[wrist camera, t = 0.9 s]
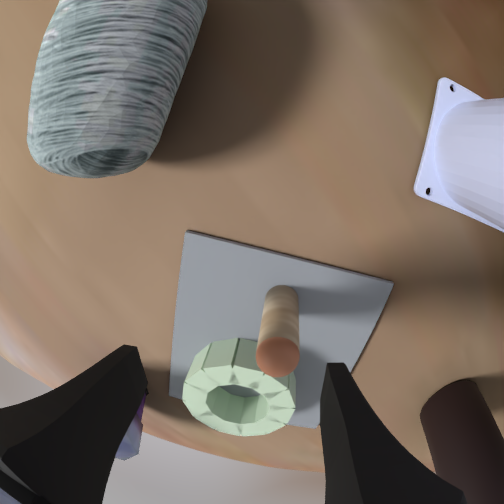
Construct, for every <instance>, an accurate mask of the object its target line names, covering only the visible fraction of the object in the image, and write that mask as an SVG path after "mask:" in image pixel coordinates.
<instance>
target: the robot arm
mask: <svg viewBox="0 0 504 504" xmlns="http://www.w3.org/2000/svg"><path fill="white" fill-rule="evenodd" d="M450 85H451V86H452V87H453V89H454V91H453V92H452V91H451V90H450ZM427 188H430V193H429V194H428V195H426V189H427ZM414 192H415V194H416V195H418V196H420V197H422V198H425V199H428V200H430V201H433V202H435V203H438V204H440V205H443V206H445V207H448V208H450V209H453V210H455V211H457V212H460V213H462V214H464V215H467V216H469V217H471V218H474V219H476V220H478V221H480V222H483V223H485V224H487V225H489V226H491V227H493V228H496V229H498V230H500V231H502V232H504V98H498V99H487V100H485V99H483V98H481V97H480V96H478V95H477V94H475V93H473V92H472V91H470V90H468V89H466V88H465V87H463V86H461V85H459V84H457V83H456V82H454V81H452V80H450V79H448V78H441V79H439V81H438V85H437V90H436V96H435V101H434V107H433V112H432V116H431V121H430V126H429V130H428V135H427V139H426V143H425V147H424V151H423V155H422V159H421V163H420V166H419V170H418V173H417V177H416V180H415V184H414ZM147 384H148V382H147V379H146V376H145V372H144V369H143V366H142V363H141V359H140V356H139V352H138V349H137V347H135V346H129V345H123V346H121V347H119V348H118V349H116V350H115V351H113V352H112V353H110V354H109V355H108V356H106V357H105V358H103V359H102V360H100V361H99V362H97V363H96V364H95V365H93V366H92V367H90V368H89V369H87V370H86V371H84V372H83V373H81V374H79V375H78V376H76V377H75V378H73V379H71V380H70V381H68V382H67V383H65V384H63V385H61V386H60V387H58V388H56V389H54V390H52V391H50V392H48V393H46V394H43V395H41V396H39V397H36V398H34V399H31V400H28V401H26V402H23V403H20V404H16V405H13V406H9V407H5V408H0V504H102V501H103V497H104V492H105V488H106V484H107V481H108V477H109V474H110V470H111V467H112V464H113V461H114V458H115V456H116V453H117V450H118V448H119V446H120V444H121V442H122V440H123V438H124V436H125V434H126V432H127V430H128V428H129V426H130V424H131V422H132V420H133V418H134V416H135V415H136V413H137V411H138V409H139V407H140V405H141V402H142V399H143V396H144V394H145V391H146V387H147ZM320 427H321V436H322V445H323V454H324V464H325V476H326V492H325V494H326V495H325V504H468V503H467V500H466V497H465V495H464V492H463V491H462V490H460V489H458V488H457V487H455V486H453V485H452V484H450V483H448V482H447V481H445V480H443V479H442V478H440V477H439V476H437V475H436V474H435V473H433V472H432V471H431V470H429V469H428V468H427V467H426V466H424V465H423V464H422V463H421V462H420V461H419V460H417V459H416V458H415V457H414V456H413V455H412V454H410V453H409V452H408V451H407V450H406V449H405V448H404V447H403V446H402V445H401V444H400V443H399V442H398V440H397V439H396V438H395V437H394V436H393V435H392V434H391V433H390V431H389V430H388V429H387V428H386V427H385V425H384V424H383V423H382V421H381V420H380V419H379V418H378V416H377V415H376V413H375V412H374V411H373V409H372V408H371V406H370V405H369V403H368V402H367V400H366V399H365V397H364V396H363V394H362V393H361V391H360V389H359V388H358V386H357V384H356V383H355V381H354V379H353V377H352V375H351V374H350V372H349V370H348V368H347V366H346V364H345V363H344V362H339V363H327V365H326V371H325V376H324V382H323V387H322V392H321V397H320Z"/></svg>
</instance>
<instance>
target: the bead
mask: <svg viewBox="0 0 504 504" xmlns="http://www.w3.org/2000/svg"><path fill="white" fill-rule="evenodd" d="M257 344H258V342H256V341H251V340H247V339H243V338H240V341H239V339H238V338H233V339H227V340H221V341H215V342H213V343H210V344H209V345H207V346H206V347H205V348H204V349H203V350H201V351H200V352H199V353H198V354H197V355H195V357H194V360H193V362H192V364H191V367H190V369H189V372H188V374H187V376H186V379H185V381H184V386H183V395H182V399H183V402H184V404H185V405H186V407H187V408H188V410H189V411H190V412H191V414H192V415H193V417H195V418H196V419H197V420H199V421H201V422H202V423H204V424H205V425H207V426H209V427H210V428H212V429H214V430H215V429H217V430H216V431H220V432H224V433H228V434H232V435H237V436H240V435H242V436H255V435H266V433H267V434H269V433H271V432H273V431H275V430H277V429H279V428H281V427H283V426H285V425H286V424H287V423H288V422H289V420H290V418H291V416H292V414H293V412H294V411H295V405H296V378H295V375H294V372H291V373H290V374H288V375H286V376H283V377H271V376H268V375H266V374H265V373H264V372H262V371H261V370H260V368H259V367H258V365H257V362H256V350H257ZM233 384H235V385H239V386H244V387H248V388H252V389H254V390H255V391H257V392H258V393H260V394H261V395H259V396H253V397H240V396H236V395H232V394H230V393H228V392H227V391H225V390H224V389H222V388H221V387H219V386H224V385H233Z"/></svg>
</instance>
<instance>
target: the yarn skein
mask: <svg viewBox="0 0 504 504" xmlns="http://www.w3.org/2000/svg"><path fill="white" fill-rule="evenodd" d="M206 9H207V0H60V2H59V4H58V6H57V8H56V11H55V13H54V15H53V17H52V19H51V21H50V23H49V25H48V28H47V30H46V32H45V35H44V37H43V41H42V44H41V47H40V51H39V54H38V58H37V62H36V68H35V74H34V78H33V82H32V87H31V99H30V105H29V114H28V133H27V143H28V146H29V150H30V153H31V155H32V157H33V158H34V160H35V161H36V162H37V164H39V165H40V166H42V167H43V168H44V169H46V170H47V171H49V172H53V173H56V174H60V175H65V176H72V177H81V178H102V177H107V176H115V175H119V174H124V173H127V172H130V171H132V170H135V169H136V168H138V167H139V166H140V165H142V164H143V163H144V162H146V161H147V160H148V159H149V158H150V156H151V154H152V152H153V151H154V149H155V147H156V145H157V144H158V142H159V140H160V138H161V134H162V131H163V128H164V125H165V123H166V121H167V118H168V115H169V112H170V109H171V106H172V103H173V100H174V97H175V95H176V92H177V90H178V88H179V85H180V82H181V79H182V76H183V74H184V71H185V68H186V66H187V63H188V61H189V58H190V56H191V53H192V50H193V47H194V44H195V41H196V39H197V36H198V33H199V29H200V26H201V23H202V20H203V17H204V15H205V12H206Z"/></svg>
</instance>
